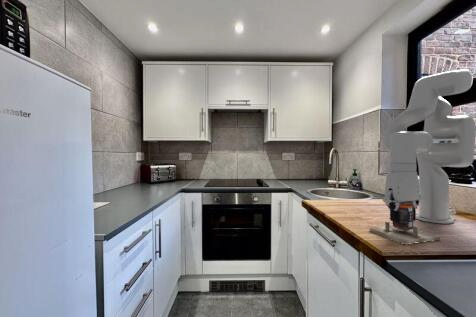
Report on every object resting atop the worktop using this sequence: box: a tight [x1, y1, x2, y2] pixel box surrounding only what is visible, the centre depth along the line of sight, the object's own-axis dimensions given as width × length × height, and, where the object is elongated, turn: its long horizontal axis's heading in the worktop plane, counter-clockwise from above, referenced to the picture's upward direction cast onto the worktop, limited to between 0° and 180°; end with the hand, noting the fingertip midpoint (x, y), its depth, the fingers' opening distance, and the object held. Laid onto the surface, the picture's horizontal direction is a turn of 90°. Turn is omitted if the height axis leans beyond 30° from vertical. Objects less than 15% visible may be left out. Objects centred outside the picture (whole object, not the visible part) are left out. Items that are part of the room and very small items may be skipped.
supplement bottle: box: [391, 200, 414, 230], centre depth 82 cm, size 6×6×11 cm
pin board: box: [369, 221, 441, 245], centre depth 82 cm, size 14×14×4 cm
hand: (402, 220), depth 82 cm, fingers closed on supplement bottle, 5 cm apart
